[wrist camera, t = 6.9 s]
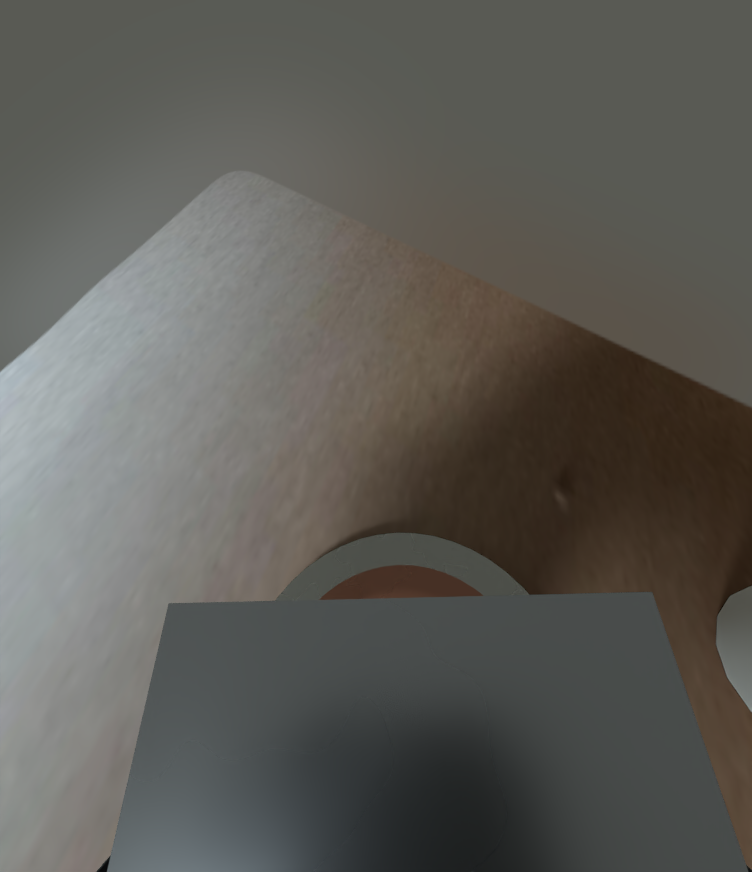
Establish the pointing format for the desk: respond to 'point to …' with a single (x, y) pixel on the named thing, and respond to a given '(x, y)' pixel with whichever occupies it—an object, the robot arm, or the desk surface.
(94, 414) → the desk surface
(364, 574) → the copper centred dish
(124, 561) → the desk surface
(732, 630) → the white cup
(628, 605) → the grey stepped block
